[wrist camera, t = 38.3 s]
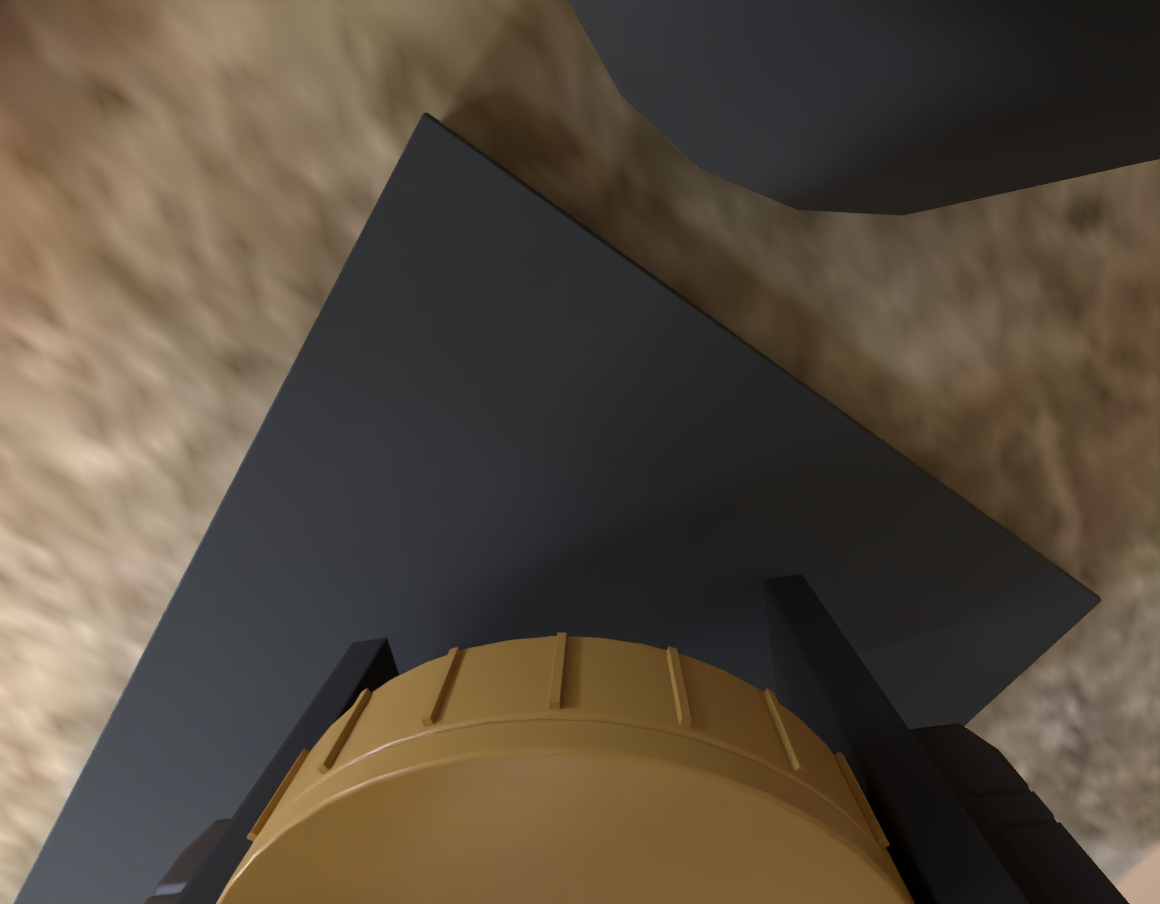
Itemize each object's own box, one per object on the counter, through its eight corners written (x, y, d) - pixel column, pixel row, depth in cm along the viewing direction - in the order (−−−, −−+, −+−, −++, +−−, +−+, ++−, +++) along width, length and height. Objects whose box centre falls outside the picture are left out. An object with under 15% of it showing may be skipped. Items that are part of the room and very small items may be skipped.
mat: (463, 1160, 19) (458, 1187, 18) (-4, 951, 17) (-25, 975, 16) (1081, 585, 12) (1105, 600, 12) (433, 119, 10) (422, 109, 9)
